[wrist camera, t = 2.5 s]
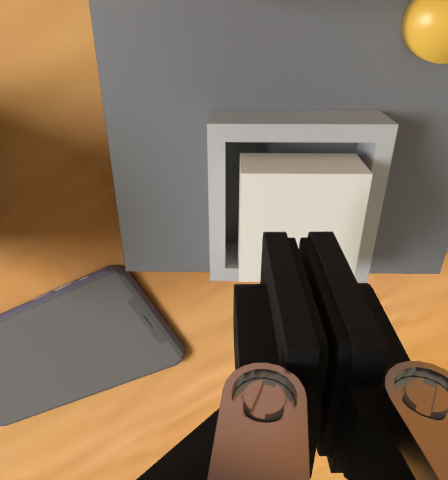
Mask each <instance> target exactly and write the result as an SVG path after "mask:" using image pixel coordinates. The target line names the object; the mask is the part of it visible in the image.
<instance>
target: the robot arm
mask: <svg viewBox="0 0 448 480" xmlns="http://www.w3.org/2000/svg"><path fill="white" fill-rule="evenodd" d="M234 353H235V371H234V372H233V373H232V374H231V375H230V376H229V377H228V379H227V380H226V382H225V385H224V388H223V391H222V397H221V403H220V408H219V409H218V410H217V411H215V412H214V413H213V414H212V415H211V416H210V417H209V418H207V419H206V420H205V421H204V422H203V423H202V424H200V425H199V426H198V427H197V428H196V429H195V430H193V431H192V432H191V433H190V434H189V435H188V436H186V437H185V438H184V439H183V440H182V441H181V442H179V443H178V444H177V445H176V446H175V447H174V448H173V449H171V450H170V451H169V452H168V453H167V454H166V455H164V456H163V457H162V458H161V459H160V460H159V461H157V462H156V463H155V464H154V465H153V466H152V467H150V468H149V469H148V470H147V471H146V472H145V473H143V474H142V475H141V476H140V477H139V478H138V479H136V480H310V478H311V475H312V469H313V463H314V458H315V452H316V448H317V452H318V454H319V456H327V458H328V463H329V467H330V471H331V473H343V474H344V477H345V478H347V479H348V480H448V371H447V370H445V369H443V368H440V367H438V366H436V365H433V364H430V363H425V362H421V361H410V359H409V357H408V355H407V353H406V351H405V349H404V348H403V346H402V344H401V342H400V340H399V338H398V336H397V334H396V332H395V330H394V328H393V327H392V325H391V323H390V321H389V319H388V317H387V315H386V313H385V311H384V309H383V307H382V305H381V304H380V302H379V300H378V298H377V296H376V294H375V292H374V290H373V288H372V287H371V286H370V284H368V283H358V282H357V280H356V278H355V276H354V274H353V272H352V270H351V268H350V266H349V264H348V262H347V259H346V257H345V255H344V253H343V251H342V249H341V247H340V245H339V243H338V241H337V239H336V237H335V235H334V233H333V232H332V231H325V232H309V233H308V237H301V238H300V243H299V249H298V245H297V242H296V239H295V238H288V236H287V233H286V232H263V239H262V258H261V278H260V284H234Z"/></svg>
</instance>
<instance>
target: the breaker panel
mask: <svg viewBox="0 0 448 480" xmlns="http://www.w3.org/2000/svg"><path fill="white" fill-rule="evenodd" d="M89 6H90V13H91V21H92V28H93V35H94V43H95V50H96V57H97V65H98V72H99V79H100V87H101V94H102V101H103V109H104V116H105V123H106V131H107V138H108V145H109V153H110V160H111V167H112V175H113V182H114V189H115V196H116V204H117V211H118V218H119V226H120V233H121V240H122V248H123V255H124V262H125V270H126V271H159V272H210V281H239V266H238V233H239V176H240V153H356V154H357V155H358V156H359V158H360V159H361V160H362V161H363V163H364V164H365V165H366V166H367V168H368V169H369V170H370V171H371V172H372V174H373V176H372V181H371V187H370V193H369V198H368V204H367V209H366V215H365V220H364V226H363V232H362V237H361V243H360V248H359V254H358V259H357V265H356V271H355V278H356V280H357V282H367V281H368V276H369V273H402V274H440V271H441V268H442V264H443V261H444V257H445V254H446V251H447V247H448V0H89Z"/></svg>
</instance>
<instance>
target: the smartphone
mask: <svg viewBox="0 0 448 480" xmlns="http://www.w3.org/2000/svg"><path fill="white" fill-rule="evenodd" d="M184 353H185V347H184V346H183V344H182V343H181V342H180V340H179V339H178V337H177V336H176V335H175V333H174V332H173V331H172V329H171V328H170V327H169V325H168V324H167V322H166V321H165V320H164V318H163V317H162V316H161V314H160V313H159V312H158V310H157V309H156V307H155V306H154V305H153V303H152V302H151V301H150V299H149V298H148V297H147V295H146V294H145V292H144V291H143V290H142V288H141V287H140V286H139V284H138V283H137V282H136V280H135V279H134V277H133V276H132V275H131V273H130V272H129V271H126V270H125V268H123V267H121V266H119V265H114V266H107V267H105V268H103V269H101V270H98V271H96V272H94V273H92V274H89V275H87V276H85V277H83V278H80V279H78V280H76V281H74V282H69V283H67V284H65V285H63V286H60V287H58V288H56V289H55V290H53V291H49V292H47V293H45V294H42V295H40V296H38V297H36V298H35V299H33V300H31V301H29V302H26V303H24V304H22V305H20V306H17V307H15V308H13V309H11V310H8V311H6V312H4V313H2V314H0V426H7V425H9V424H12V423H15V422H18V421H21V420H23V419H26V418H29V417H32V416H35V415H37V414H40V413H43V412H46V411H49V410H51V409H54V408H57V407H60V406H63V405H65V404H68V403H71V402H74V401H77V400H80V399H82V398H85V397H88V396H91V395H94V394H96V393H99V392H102V391H105V390H108V389H110V388H113V387H116V386H119V385H122V384H124V383H127V382H130V381H133V380H136V379H138V378H141V377H144V376H147V375H150V374H152V373H155V372H158V371H161V370H164V369H166V368H169V367H172V366H175V365H177V364H178V363H179V362H180V361H181V360H182V359H183V357H184Z"/></svg>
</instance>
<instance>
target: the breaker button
mask: <svg viewBox="0 0 448 480" xmlns="http://www.w3.org/2000/svg"><path fill="white" fill-rule="evenodd" d="M372 176H373V174H372V172H371V171H370V170H369V169H368V168H367V166H366V165H365V164H364V163H363V161H362V160H361V159H360V158H359V156H358V155H357V154H356V153H240V176H239V233H238V266H239V282H260V278H261V258H262V239H263V232H286V233H287V236H288V238H295V239H296V242H297V245H298V249H299V243H300V238H301V237H308V233H309V232H325V231H332V232H333V233H334V235H335V237H336V239H337V241H338V243H339V245H340V247H341V249H342V251H343V253H344V255H345V257H346V259H347V262H348V264H349V266H350V268H351V270H352V272H353V274H354V276H355V271H356V265H357V259H358V254H359V248H360V243H361V237H362V232H363V226H364V220H365V215H366V209H367V204H368V198H369V193H370V187H371V181H372Z"/></svg>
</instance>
